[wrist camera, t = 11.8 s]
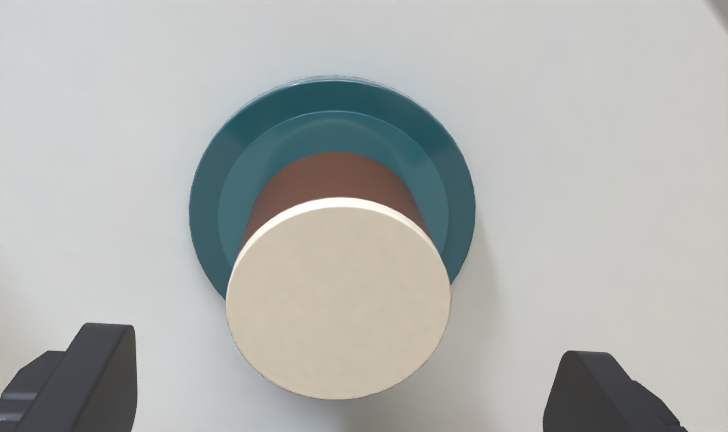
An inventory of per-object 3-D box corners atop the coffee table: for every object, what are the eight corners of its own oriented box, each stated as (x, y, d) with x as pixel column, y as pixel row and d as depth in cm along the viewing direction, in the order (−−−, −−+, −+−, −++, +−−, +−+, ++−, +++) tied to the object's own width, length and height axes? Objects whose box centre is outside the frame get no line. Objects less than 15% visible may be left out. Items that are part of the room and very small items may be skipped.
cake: (256, 138, 18) (234, 190, 13) (436, 164, 19) (475, 220, 14) (241, 299, 20) (218, 391, 15) (403, 315, 21) (426, 408, 16)
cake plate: (199, 53, 18) (193, 56, 17) (499, 98, 19) (507, 103, 18) (188, 320, 21) (182, 334, 20) (439, 343, 22) (444, 356, 22)
